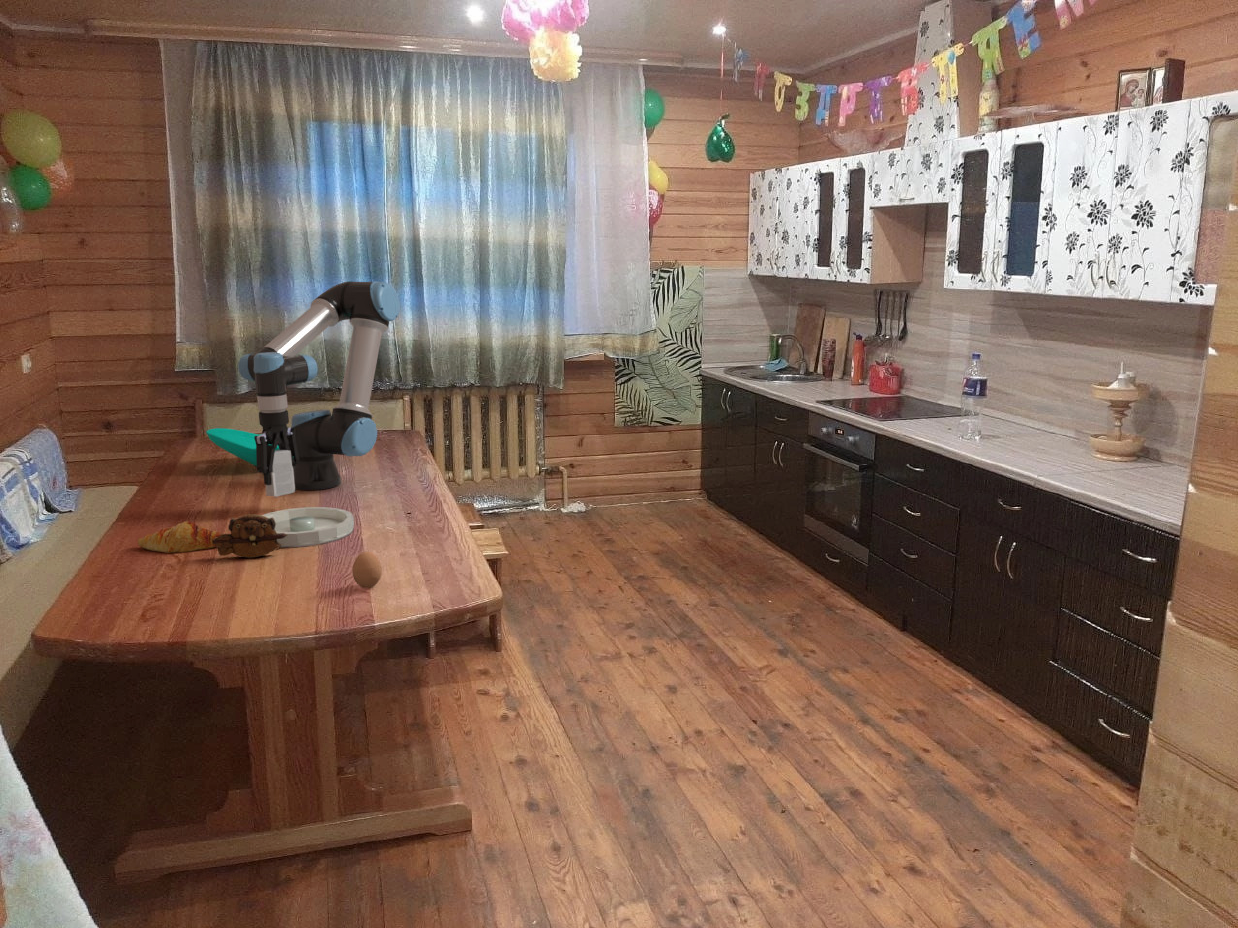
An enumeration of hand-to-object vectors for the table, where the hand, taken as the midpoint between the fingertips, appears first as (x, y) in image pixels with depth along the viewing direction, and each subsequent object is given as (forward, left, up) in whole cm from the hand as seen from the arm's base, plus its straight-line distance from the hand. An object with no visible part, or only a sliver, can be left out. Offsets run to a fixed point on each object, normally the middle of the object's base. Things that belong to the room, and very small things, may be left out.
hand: (280, 492), depth 257 cm
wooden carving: (+36, +21, -6) cm, 42 cm away
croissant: (+35, 0, -6) cm, 36 cm away
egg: (+44, +59, -6) cm, 74 cm away
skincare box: (0, 0, -1) cm, 1 cm away
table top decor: (-46, -43, -6) cm, 64 cm away
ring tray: (+15, +19, -6) cm, 25 cm away
